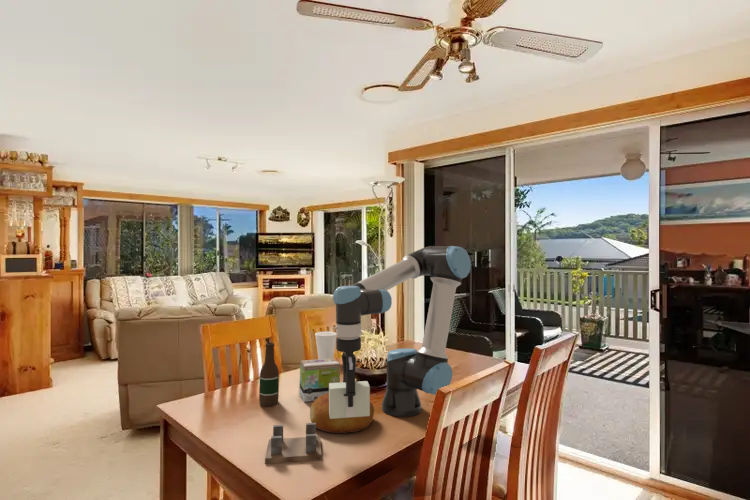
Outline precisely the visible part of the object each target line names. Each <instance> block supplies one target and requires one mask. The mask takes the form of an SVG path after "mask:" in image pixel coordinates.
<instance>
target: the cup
mask: <svg viewBox="0 0 750 500" xmlns="http://www.w3.org/2000/svg"><path fill="white" fill-rule="evenodd" d="M314 336H315V343H316V351H317V357H318V358H317V359H330V358H334V356H335V355H334V354H335V349H336V339H337V337H338V336H337V335H336V332H335V331H317V332H315V334H314Z"/></svg>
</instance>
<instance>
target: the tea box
mask: <svg viewBox="0 0 750 500" xmlns="http://www.w3.org/2000/svg"><path fill="white" fill-rule="evenodd" d="M299 363H300V364H299V386H298V387H299V390H298V393H299V396H300V398H301V400H302V401H303V403H307V402H314V401H315V400H316V399H317V398H318V397H320V396H322V395H324V394H326V393H329V383H341V382H340V379H341V378H340V377H341V363H339V361H338V360H336V358H334V357H333V358H330V359H318V358H317V359H307V360H306V359H305V360H300V362H299Z"/></svg>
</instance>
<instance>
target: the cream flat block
mask: <svg viewBox="0 0 750 500" xmlns="http://www.w3.org/2000/svg"><path fill="white" fill-rule="evenodd" d="M370 387H371V386H370V384H369V382H368V380H362V381H360V380H359V381H355V393H356V394H355V417H363V416H370V402H371V401H370V398H371V396H370V395H371V394H370V393H371V388H370ZM344 394H346V382H343V381H342V382H340V383H329V416H330V419H335V418H349V417H346V405H345V396H344Z"/></svg>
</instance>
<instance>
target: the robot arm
mask: <svg viewBox="0 0 750 500" xmlns="http://www.w3.org/2000/svg"><path fill="white" fill-rule="evenodd" d="M471 266H472V263H471V258H470V255H469V254H468V251H467V250H466V249H465V248H463V247H462V246H457V245H456V246H454V245H447V246H446V245H445V246H443V245H441V246H440V245H439V246H438V245H437V246H436V245H429V246H426V247H422V248H420V249H418V250H415V251H412V252H411V253H409V254H407V255H404V256H403V257H402V259H401V261H397V262H396V263H394V264H392V265H390V266H387V267H386V268H384V269H382V270H380V271H378V272H376V273H374V274H372V275H369V276H368V277H366V278H364V279H361V280H359V281H357V282H356V283H354V284H351V285H341V286H338V287H337V288H336V289H335V290H334V292H333V296H332V298H333V303H334V304H335V319H336V321H335V323H336V325H335V326H334V327H333V330H335V331H336V332H335V333H336V335H337V336H336V343H335V349H336V350H337V351H338V352H341V353H342V355H341V361H342V382H346V394H344V396H345V405H346V417H355V394H356V393H355V382H356V362H357V358H356V357H357V356H356V355H355V354H354V353H355V352H358V351H361V349H362V339H361V335H362V320H361V319H362V316H370V315H375V314H382V313H386V312H388V311H389V310H390V309H391V308H392V302H393V301H392V296H391V294H390V292H389V291H388V290H391V289H393V288H395V287H397V286H398V285H400V284H402V283H404V282H406V281H408V280H409V279H417V278H419V277H423V276H430V277H429V278H430V281H431V282H432V289H431V293H430V300H429V306H428V310H427V311H428V312H427V317H426V321H425V322H426V323H425V327H424V332H423V339H422V343H421V347H420V348H418V349H417V348H416V349H415V348H405V347H403V348H395V349H392V350H390V351H388V352H387V356H386V390H385V393H384V396H383V399H382V403H381V410H382V412H383V413H385V414H387V415H390V416H393V417H394V416H395V417H401V418H403V417H405V418H407V417H412V416H417V415H419V414H420V413H421V412H422V403H421V399H420V396H419V392H418V390H419V391H421V392H424V393H425V394H430V395H434V396H437V395H436V392H437V390H438V389H439V388H441V387H444V386H447V385H449V386H450V385H451V383H452V380H453V379H452V378H453V370H452V366H451V365H450V363H448V362H449V356H448V355H447V353H446V350H447V349H446V348H447V342H448V338H449V337H448V336H449V333H450V332H449V330H450V326H451V318H452V314H453V309H454V303H455V298H456V297H455V296H456V291H457V288H458V287H459V286H461V285H462V280H463V279H464V278H467V277H468V275H470V272H471V268H472V267H471Z"/></svg>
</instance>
